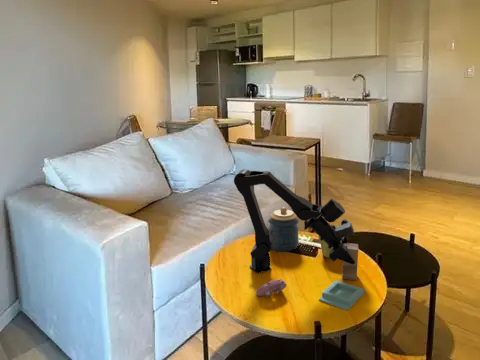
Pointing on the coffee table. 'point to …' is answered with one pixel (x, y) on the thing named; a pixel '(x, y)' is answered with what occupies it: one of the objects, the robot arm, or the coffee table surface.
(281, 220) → the canister
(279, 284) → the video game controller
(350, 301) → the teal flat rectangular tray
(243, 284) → the coffee table surface
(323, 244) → the plant pot
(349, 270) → the block
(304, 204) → the robot arm
